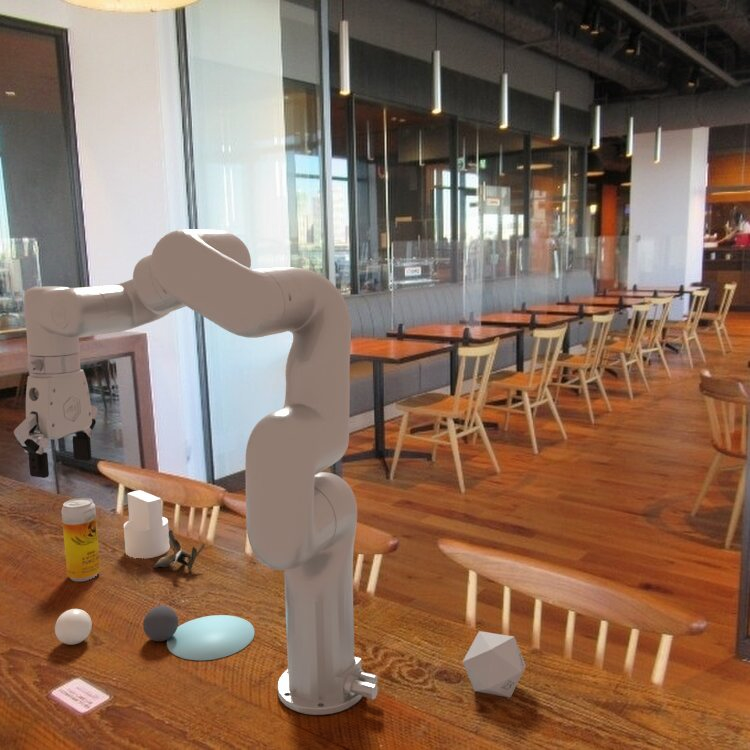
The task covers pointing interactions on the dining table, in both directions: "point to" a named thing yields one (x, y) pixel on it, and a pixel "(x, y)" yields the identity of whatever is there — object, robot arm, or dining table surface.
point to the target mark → (211, 637)
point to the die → (494, 664)
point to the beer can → (80, 539)
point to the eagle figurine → (178, 554)
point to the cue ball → (73, 626)
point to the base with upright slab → (145, 526)
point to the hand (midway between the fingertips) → (61, 467)
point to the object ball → (160, 623)
